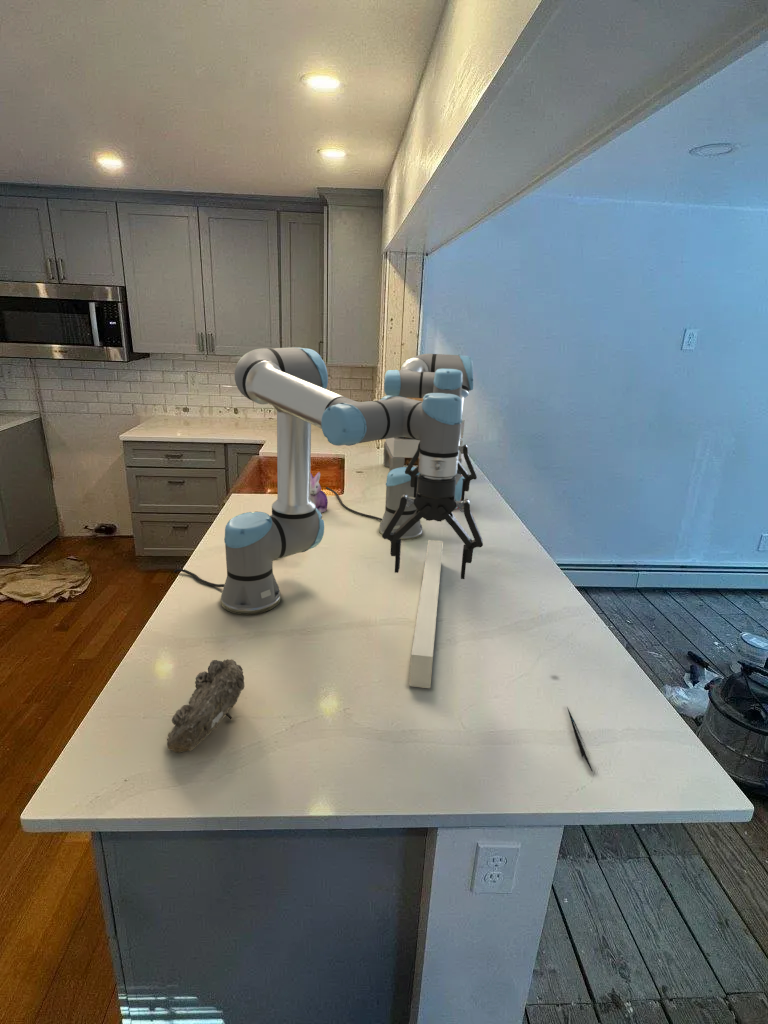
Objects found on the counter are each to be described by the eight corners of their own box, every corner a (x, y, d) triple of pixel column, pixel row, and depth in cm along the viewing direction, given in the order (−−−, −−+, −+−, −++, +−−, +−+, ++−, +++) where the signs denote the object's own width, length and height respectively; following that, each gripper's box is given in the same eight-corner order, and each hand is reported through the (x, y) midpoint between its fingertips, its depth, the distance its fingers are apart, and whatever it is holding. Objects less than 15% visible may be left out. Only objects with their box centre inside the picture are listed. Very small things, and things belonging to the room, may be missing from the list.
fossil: (192, 660, 117) (244, 628, 112) (224, 691, 120) (276, 661, 115) (142, 746, 98) (202, 712, 93) (182, 779, 101) (242, 748, 96)
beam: (426, 562, 178) (428, 539, 175) (441, 564, 178) (442, 541, 175) (408, 686, 119) (411, 654, 117) (430, 688, 119) (432, 656, 116)
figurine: (309, 516, 212) (309, 477, 207) (300, 507, 221) (300, 470, 216) (333, 513, 216) (333, 475, 211) (323, 504, 225) (323, 468, 220)
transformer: (382, 463, 289) (386, 382, 275) (445, 464, 293) (451, 384, 279) (390, 482, 257) (394, 392, 243) (460, 483, 261) (468, 394, 247)
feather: (555, 681, 125) (561, 675, 124) (592, 776, 98) (600, 769, 98) (549, 677, 125) (554, 671, 124) (584, 771, 98) (592, 764, 98)
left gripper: (371, 475, 108) (367, 575, 115) (503, 485, 106) (491, 587, 113) (376, 465, 115) (372, 560, 122) (500, 474, 113) (489, 570, 120)
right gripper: (398, 426, 154) (394, 500, 161) (490, 432, 151) (482, 507, 158) (400, 421, 161) (397, 492, 168) (489, 427, 158) (481, 499, 165)
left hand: (429, 573), depth 118 cm, fingers open, 13 cm apart
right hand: (438, 499), depth 163 cm, fingers open, 13 cm apart
